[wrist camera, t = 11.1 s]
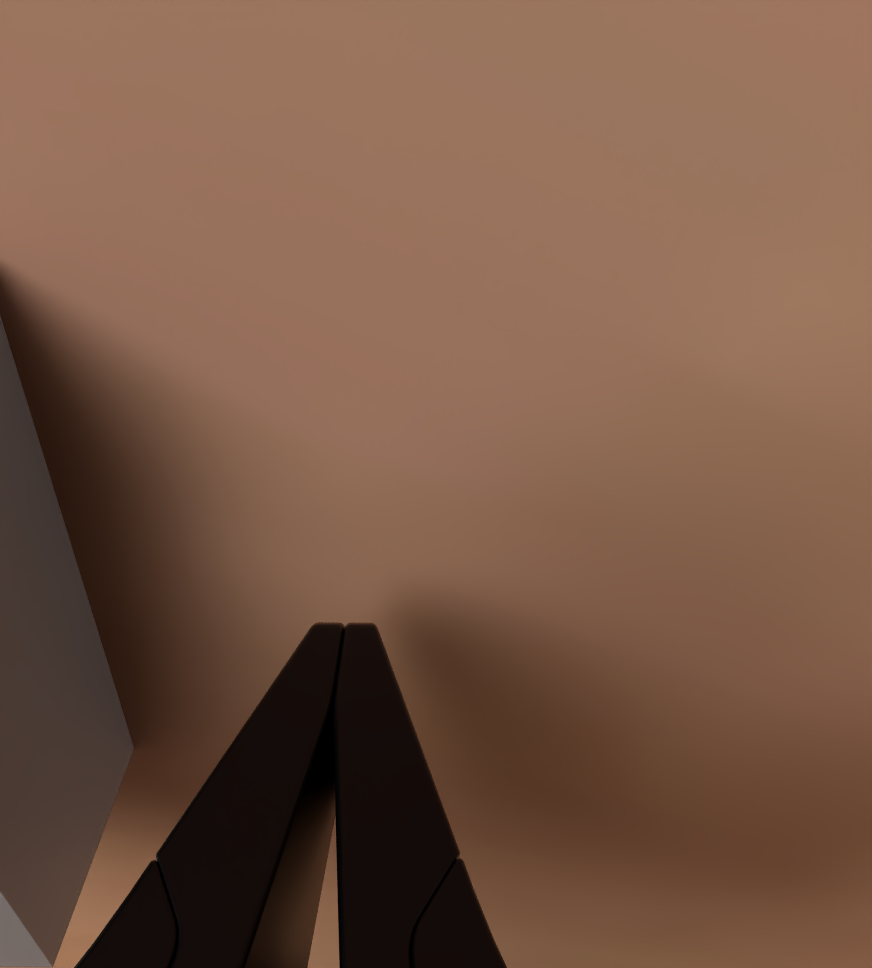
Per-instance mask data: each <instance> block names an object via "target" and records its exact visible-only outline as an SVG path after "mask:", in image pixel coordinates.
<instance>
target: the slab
mask: <svg viewBox="0 0 872 968" xmlns="http://www.w3.org/2000/svg"><path fill="white" fill-rule="evenodd" d="M133 750H134V746H133V743H132V739H131V736H130V733H129V730H128V726H127V723H126V720H125V717H124V714H123V710H122V707H121V704H120V701H119V697H118V694H117V691H116V688H115V684H114V681H113V678H112V675H111V672H110V668H109V665H108V662H107V659H106V655H105V652H104V649H103V646H102V642H101V639H100V636H99V633H98V630H97V626H96V623H95V620H94V617H93V613H92V610H91V607H90V604H89V600H88V597H87V594H86V591H85V588H84V584H83V581H82V578H81V575H80V571H79V568H78V565H77V562H76V558H75V555H74V552H73V549H72V546H71V542H70V539H69V536H68V533H67V529H66V526H65V523H64V520H63V517H62V513H61V510H60V507H59V504H58V500H57V497H56V494H55V491H54V487H53V484H52V481H51V478H50V475H49V471H48V468H47V465H46V462H45V458H44V455H43V452H42V449H41V445H40V442H39V439H38V436H37V433H36V429H35V426H34V423H33V420H32V416H31V413H30V410H29V407H28V403H27V400H26V397H25V394H24V391H23V387H22V384H21V381H20V378H19V374H18V371H17V368H16V365H15V361H14V358H13V355H12V352H11V349H10V345H9V342H8V339H7V336H6V332H5V329H4V326H3V323H2V320H1V316H0V967H53V965H54V963H55V960H56V957H57V954H58V952H59V949H60V946H61V944H62V941H63V938H64V936H65V933H66V930H67V928H68V925H69V922H70V920H71V917H72V914H73V911H74V909H75V906H76V903H77V901H78V898H79V895H80V893H81V890H82V887H83V885H84V882H85V879H86V877H87V874H88V871H89V868H90V866H91V863H92V860H93V858H94V855H95V852H96V850H97V847H98V844H99V842H100V839H101V836H102V834H103V831H104V828H105V825H106V823H107V820H108V817H109V815H110V812H111V809H112V807H113V804H114V801H115V799H116V796H117V793H118V791H119V788H120V785H121V782H122V780H123V777H124V774H125V772H126V769H127V766H128V764H129V761H130V758H131V756H132V753H133Z"/></svg>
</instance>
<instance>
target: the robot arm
mask: <svg viewBox="0 0 872 968" xmlns="http://www.w3.org/2000/svg"><path fill="white" fill-rule="evenodd" d="M335 814H336V847H337V885H338V922H339V960H340V968H507V967H506V965H505V962H504V960H503V958H502V956H501V954H500V952H499V950H498V947H497V945H496V943H495V941H494V939H493V936H492V934H491V931H490V929H489V926H488V924H487V921H486V919H485V916H484V914H483V911H482V909H481V906H480V904H479V901H478V899H477V896H476V894H475V891H474V889H473V886H472V883H471V881H470V878H469V875H468V872H467V870H466V867H465V864H464V862H463V860H462V859H460V852H459V849H458V846H457V843H456V841H455V838H454V835H453V832H452V830H451V827H450V824H449V822H448V819H447V816H446V813H445V811H444V808H443V805H442V802H441V800H440V797H439V794H438V792H437V789H436V786H435V783H434V781H433V778H432V775H431V772H430V770H429V767H428V764H427V762H426V759H425V756H424V753H423V751H422V748H421V745H420V742H419V740H418V737H417V734H416V732H415V729H414V726H413V723H412V721H411V718H410V715H409V712H408V710H407V707H406V704H405V702H404V699H403V696H402V693H401V691H400V688H399V685H398V683H397V680H396V677H395V674H394V672H393V669H392V666H391V663H390V661H389V658H388V655H387V653H386V650H385V647H384V644H383V642H382V639H381V636H380V633H379V631H378V628H377V626H376V625H375V624H373V623H348V624H347V625H346V626H344V625H343V624H342V623H323V622H319V623H316V624H314V625H313V626H312V627H311V628H310V629H309V631H308V632H307V634H306V635H305V637H304V638H303V640H302V641H301V643H300V644H299V645H298V647H297V648H296V650H295V651H294V653H293V654H292V656H291V657H290V659H289V660H288V662H287V663H286V665H285V666H284V667H283V669H282V670H281V672H280V673H279V675H278V676H277V678H276V679H275V681H274V682H273V684H272V685H271V687H270V688H269V689H268V691H267V692H266V694H265V695H264V697H263V698H262V700H261V701H260V703H259V704H258V706H257V707H256V709H255V710H254V711H253V713H252V714H251V716H250V717H249V719H248V720H247V722H246V723H245V725H244V726H243V728H242V729H241V731H240V732H239V733H238V735H237V736H236V738H235V739H234V741H233V742H232V744H231V745H230V747H229V748H228V750H227V751H226V753H225V754H224V755H223V757H222V758H221V760H220V761H219V763H218V764H217V766H216V767H215V769H214V770H213V772H212V773H211V775H210V776H209V777H208V779H207V780H206V782H205V783H204V785H203V786H202V788H201V789H200V791H199V792H198V794H197V795H196V797H195V798H194V799H193V801H192V802H191V804H190V805H189V807H188V808H187V810H186V811H185V813H184V814H183V816H182V817H181V819H180V820H179V821H178V823H177V824H176V826H175V827H174V829H173V830H172V832H171V833H170V835H169V836H168V838H167V839H166V841H165V842H164V843H163V845H162V846H161V848H160V849H159V851H158V852H157V854H156V858H157V861H156V860H153V861H151V862H150V863H149V865H148V866H147V868H146V869H145V871H144V872H143V874H142V875H141V877H140V878H139V880H138V881H137V883H136V884H135V885H134V887H133V888H132V890H131V891H130V893H129V894H128V896H127V897H126V898H125V900H124V901H123V903H122V904H121V905H120V907H119V908H118V910H117V911H116V912H115V914H114V915H113V917H112V918H111V919H110V921H109V922H108V924H107V925H106V926H105V928H104V929H103V930H102V932H101V933H100V935H99V936H98V937H97V939H96V940H95V942H94V943H93V944H92V946H91V947H90V948H89V949H88V951H87V952H86V953H85V954H84V956H83V957H82V958H81V960H80V961H79V962H78V963H77V965H76V966H75V967H74V968H307V966H308V960H309V955H310V949H311V944H312V939H313V933H314V928H315V922H316V917H317V911H318V906H319V901H320V895H321V890H322V884H323V879H324V873H325V868H326V863H327V857H328V852H329V846H330V841H331V835H332V830H333V825H334V819H335Z"/></svg>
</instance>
